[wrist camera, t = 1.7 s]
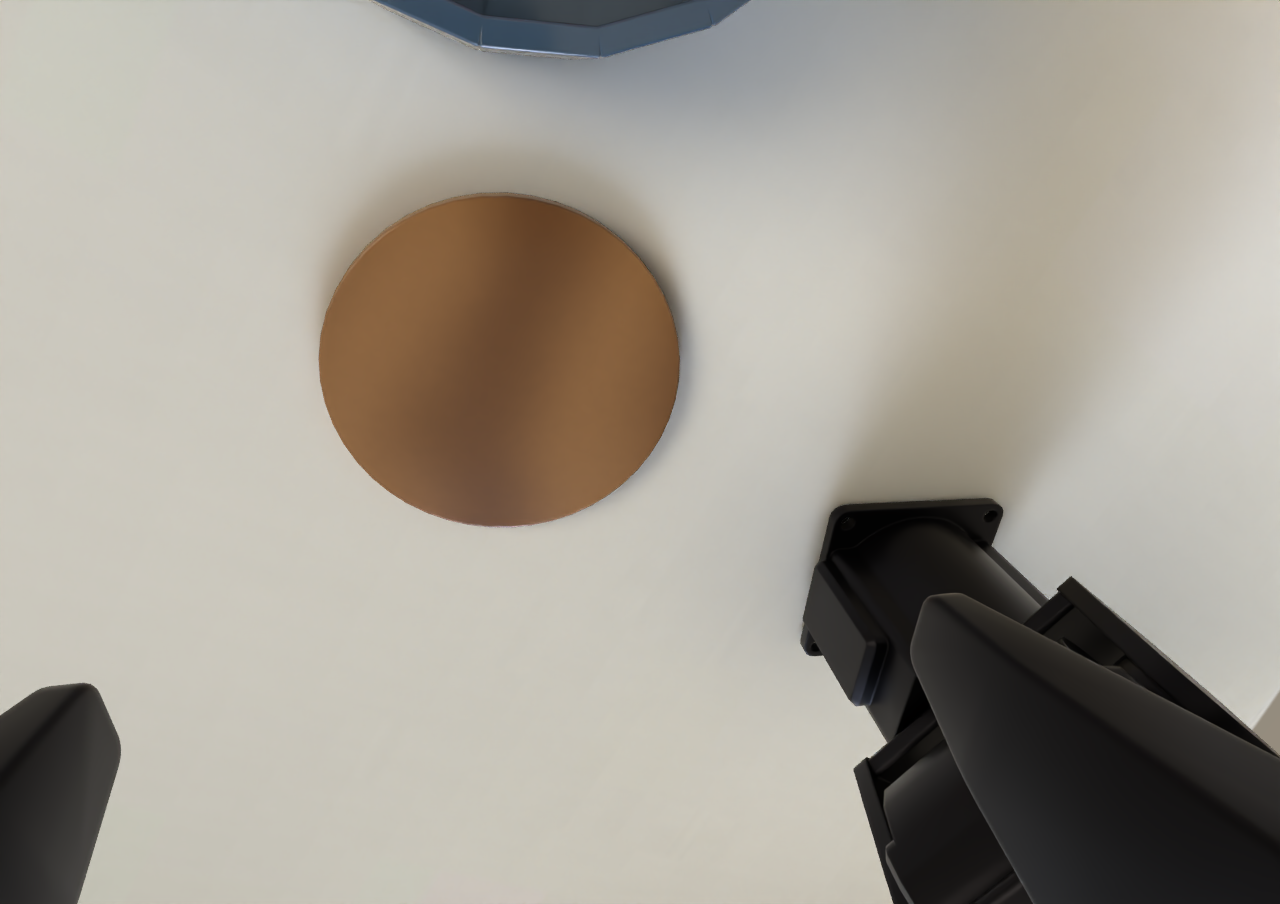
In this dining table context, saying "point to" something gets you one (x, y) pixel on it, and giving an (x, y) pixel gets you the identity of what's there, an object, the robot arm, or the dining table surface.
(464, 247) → the cork coaster
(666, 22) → the bowl
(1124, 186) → the dining table surface
